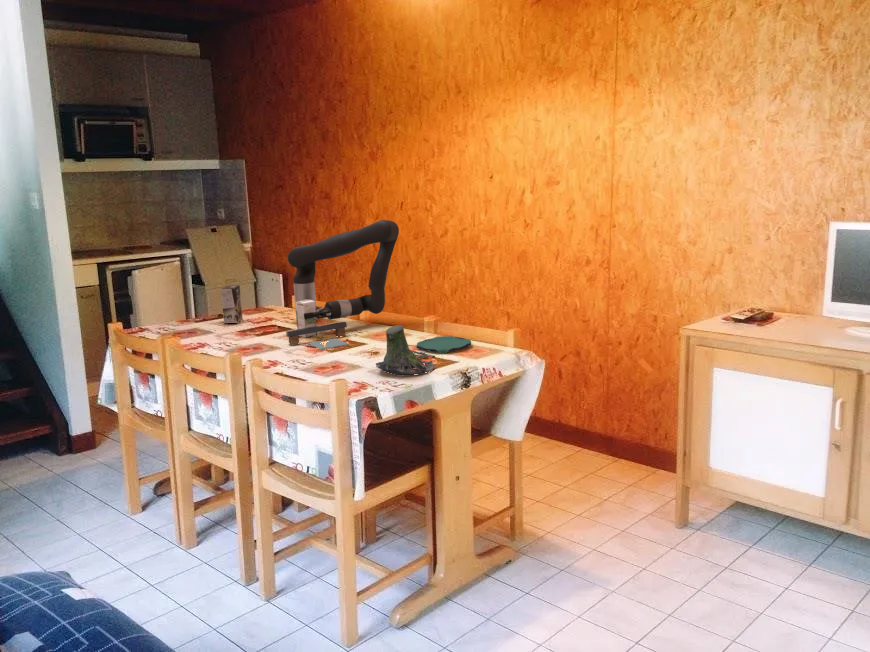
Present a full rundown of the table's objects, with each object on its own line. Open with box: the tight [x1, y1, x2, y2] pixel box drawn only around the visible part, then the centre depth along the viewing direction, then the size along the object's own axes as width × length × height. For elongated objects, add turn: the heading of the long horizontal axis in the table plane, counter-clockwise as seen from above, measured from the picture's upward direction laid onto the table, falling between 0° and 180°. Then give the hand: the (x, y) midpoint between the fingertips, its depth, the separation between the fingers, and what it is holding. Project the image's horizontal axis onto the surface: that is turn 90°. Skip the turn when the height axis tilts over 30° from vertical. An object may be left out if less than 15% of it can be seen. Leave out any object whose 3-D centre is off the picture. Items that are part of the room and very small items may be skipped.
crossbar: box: [285, 321, 348, 338], centre depth 299 cm, size 2×25×2 cm, turn 122°
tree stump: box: [375, 324, 436, 376], centre depth 250 cm, size 18×20×18 cm
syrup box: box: [295, 300, 318, 338], centre depth 306 cm, size 6×6×14 cm
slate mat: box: [307, 337, 350, 350], centre depth 291 cm, size 12×12×1 cm
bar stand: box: [288, 328, 347, 345], centre depth 299 cm, size 3×23×4 cm, turn 123°
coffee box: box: [220, 285, 244, 324], centre depth 339 cm, size 9×6×16 cm
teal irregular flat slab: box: [410, 335, 472, 361], centre depth 278 cm, size 20×30×2 cm, turn 134°
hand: (300, 314), depth 305 cm, fingers closed on syrup box, 6 cm apart
